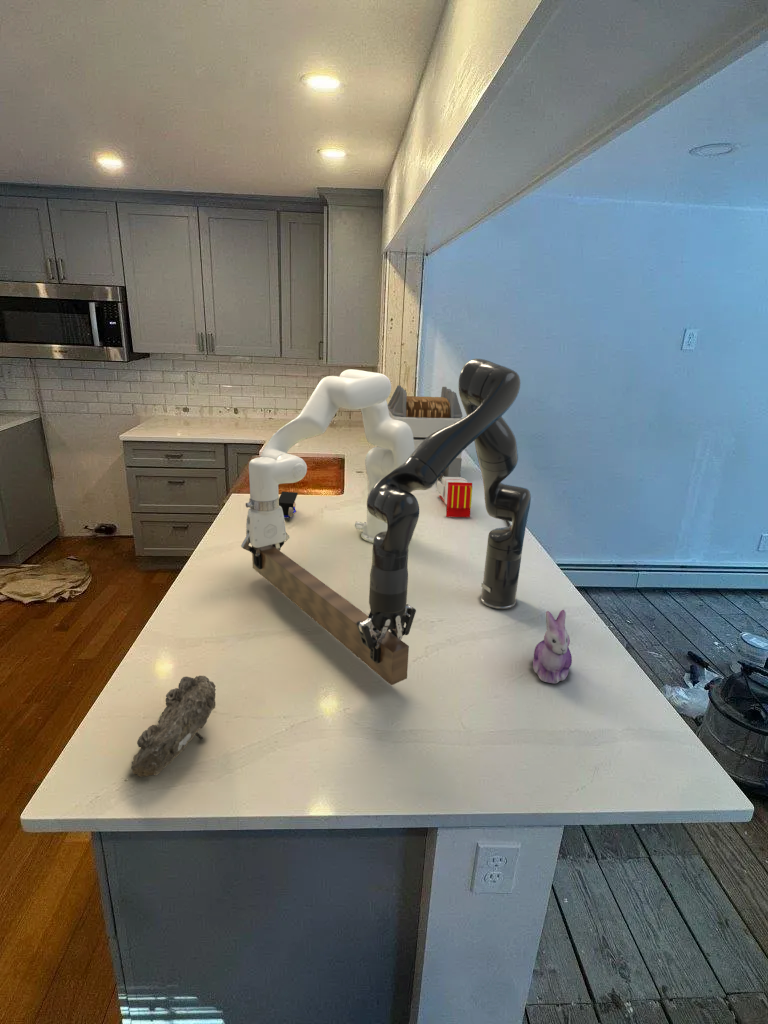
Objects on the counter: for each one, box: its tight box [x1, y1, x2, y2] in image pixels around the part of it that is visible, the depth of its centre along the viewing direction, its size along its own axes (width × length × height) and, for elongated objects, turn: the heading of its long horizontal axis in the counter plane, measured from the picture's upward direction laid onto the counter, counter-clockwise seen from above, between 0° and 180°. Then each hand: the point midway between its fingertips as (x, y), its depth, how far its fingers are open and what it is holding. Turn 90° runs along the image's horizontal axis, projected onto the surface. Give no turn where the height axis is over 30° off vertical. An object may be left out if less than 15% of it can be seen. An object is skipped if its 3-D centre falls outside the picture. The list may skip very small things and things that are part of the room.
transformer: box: [387, 384, 463, 477], centre depth 268 cm, size 34×33×41 cm
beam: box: [251, 545, 410, 686], centre depth 138 cm, size 64×4×8 cm, turn 37°
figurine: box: [532, 609, 573, 684], centre depth 124 cm, size 9×10×15 cm
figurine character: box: [279, 491, 299, 522], centre depth 211 cm, size 7×8×15 cm
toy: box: [435, 476, 473, 518], centre depth 229 cm, size 12×13×30 cm
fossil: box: [130, 675, 217, 778], centre depth 101 cm, size 22×10×15 cm
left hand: (266, 564), depth 159 cm, fingers closed on beam, 4 cm apart
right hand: (384, 657), depth 118 cm, fingers closed on beam, 4 cm apart
